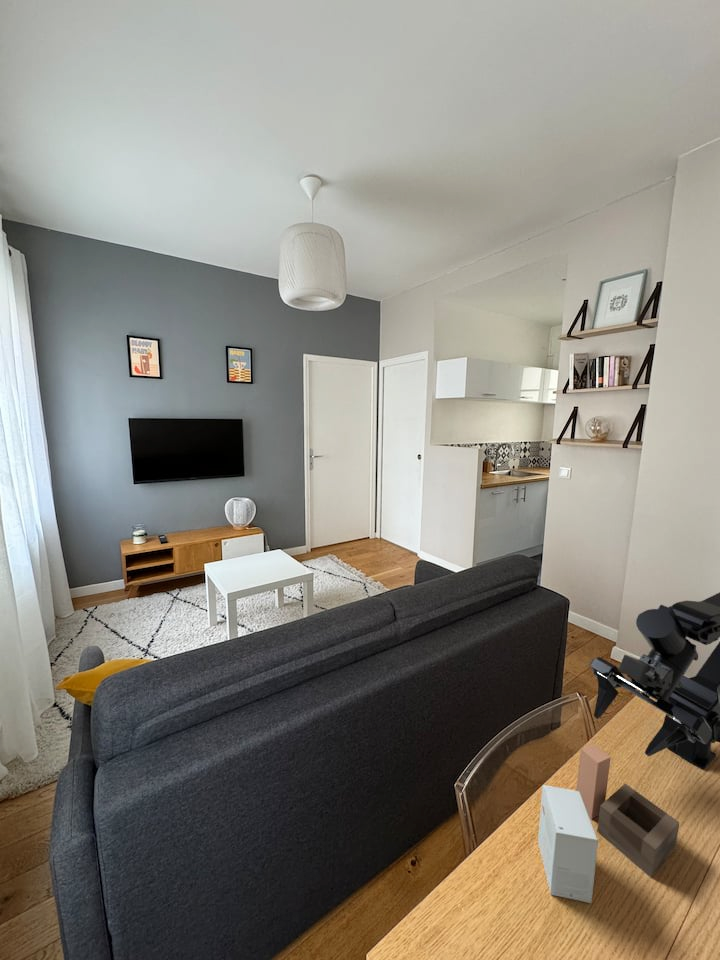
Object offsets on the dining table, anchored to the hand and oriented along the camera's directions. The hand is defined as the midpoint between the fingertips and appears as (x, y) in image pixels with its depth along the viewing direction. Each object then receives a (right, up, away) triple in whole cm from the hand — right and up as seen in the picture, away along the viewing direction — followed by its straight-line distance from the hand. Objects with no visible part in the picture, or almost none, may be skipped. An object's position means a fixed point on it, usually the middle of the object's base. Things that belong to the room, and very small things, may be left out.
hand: (619, 735), depth 72 cm
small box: (-16, -14, -11) cm, 23 cm away
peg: (-6, -12, -1) cm, 14 cm away
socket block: (-1, -13, -6) cm, 15 cm away
